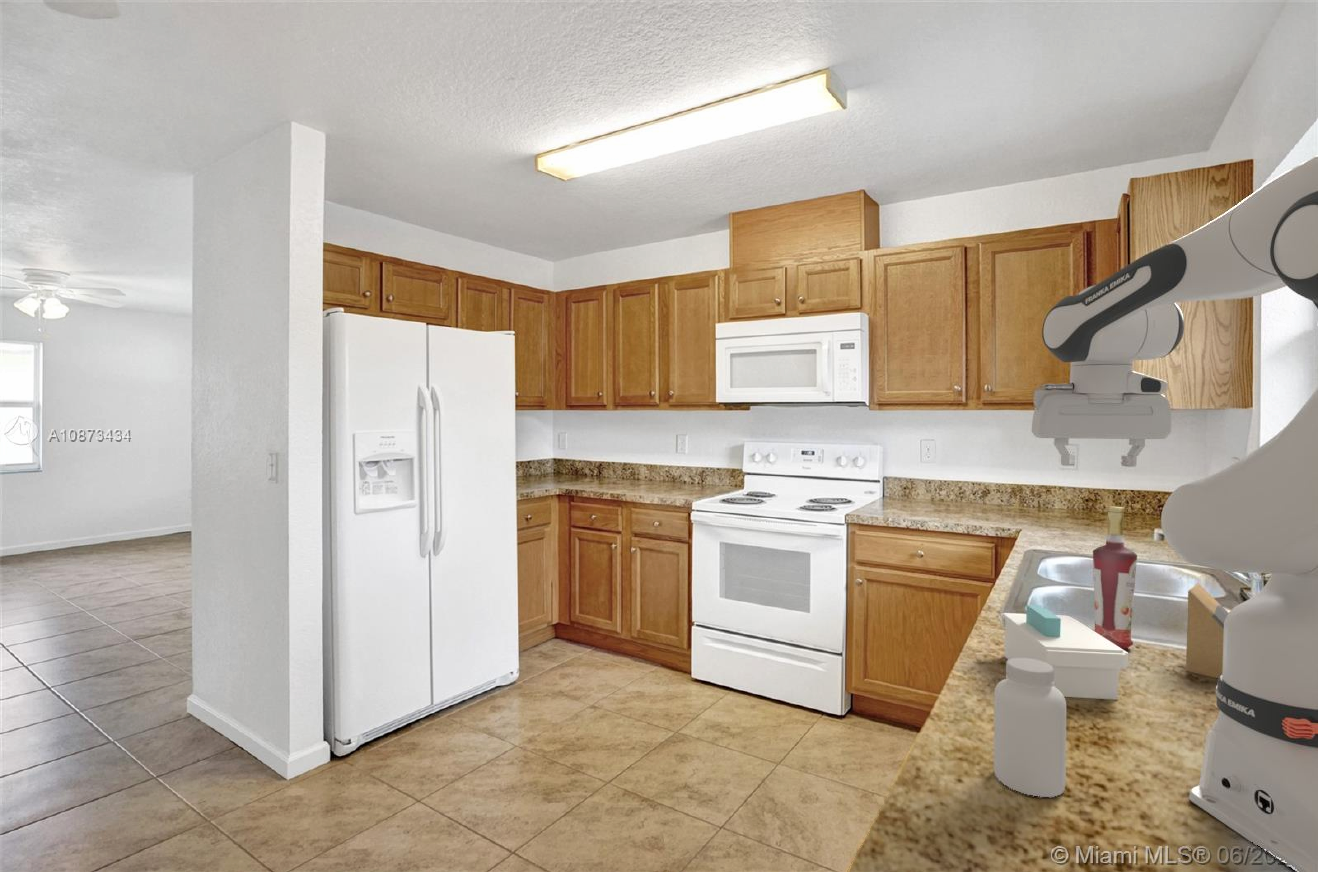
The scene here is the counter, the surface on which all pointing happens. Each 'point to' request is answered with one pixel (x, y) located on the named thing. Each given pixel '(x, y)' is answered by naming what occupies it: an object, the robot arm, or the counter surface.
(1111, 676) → the box
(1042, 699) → the pill bottle
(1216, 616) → the sandwich container
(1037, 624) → the lid
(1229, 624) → the robot arm
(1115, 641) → the liquor
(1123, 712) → the counter surface
